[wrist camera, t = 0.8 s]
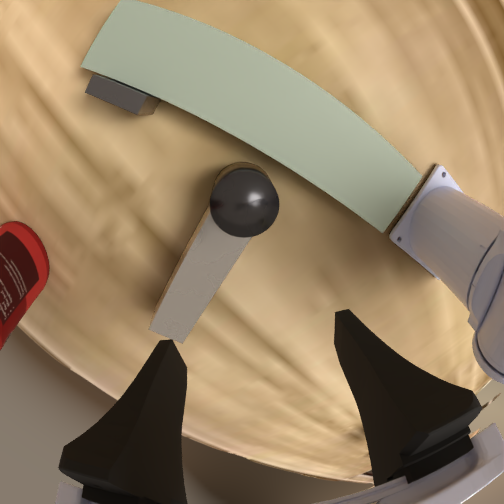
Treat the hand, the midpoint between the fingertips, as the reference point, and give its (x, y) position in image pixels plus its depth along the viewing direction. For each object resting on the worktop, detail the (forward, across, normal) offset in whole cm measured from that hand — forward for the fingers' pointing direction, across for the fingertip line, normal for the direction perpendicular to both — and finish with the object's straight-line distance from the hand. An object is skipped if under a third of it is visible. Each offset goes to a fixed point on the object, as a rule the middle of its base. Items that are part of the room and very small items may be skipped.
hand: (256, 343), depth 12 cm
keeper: (+10, +6, -12) cm, 17 cm away
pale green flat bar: (+10, -3, -10) cm, 14 cm away
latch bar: (+10, +3, 0) cm, 11 cm away
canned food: (+10, +22, -3) cm, 24 cm away
